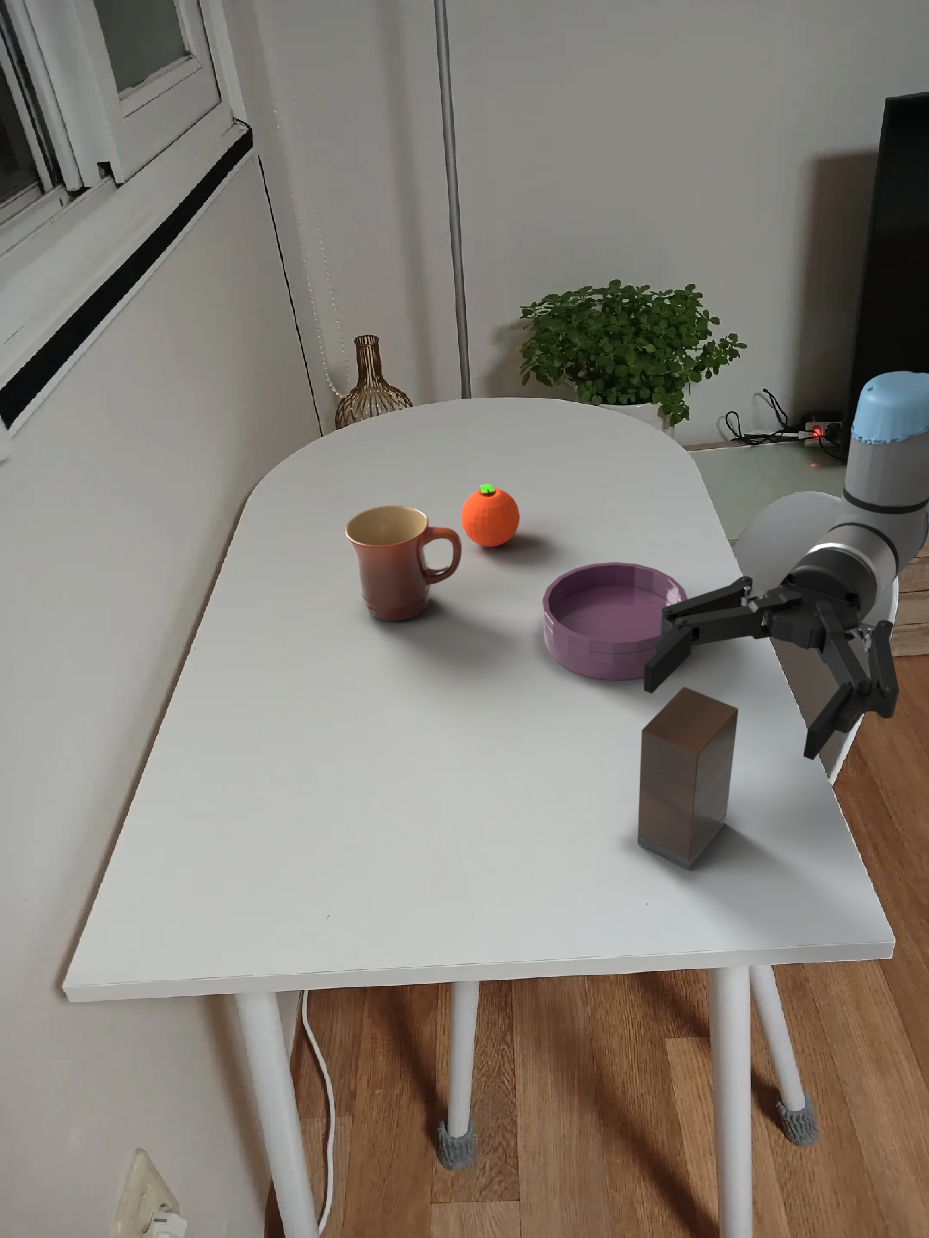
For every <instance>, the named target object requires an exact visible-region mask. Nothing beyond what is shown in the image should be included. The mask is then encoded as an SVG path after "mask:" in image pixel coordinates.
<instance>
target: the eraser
mask: <svg viewBox="0 0 929 1238" xmlns="http://www.w3.org/2000/svg"><path fill="white" fill-rule="evenodd" d="M738 717H739V708H738V707H736V706H733V705H730V704H728V703H726V702H724V701H721V700H718V699H716V698H713V697H711V696H709V695H706V694H704V693H701V692H699V691H697V690H693V689H691V688H689V687H686V686H682V688H681V689H679V691H678V692H677V693H676V694H675V695H674V696H673V697H672V698H671V699H670V700H669V701H668V702H667V703H666V705H664V706H663V708H661V710H660V711H658V713H656V715H655V716H654V717H653V718H652V719H651V720H650V721H649V722H648V723H646V725H645V726H644V727H643V728H642V729H641V743H640V766H639V791H638V817H637V819H638V821H637V845H638V846H640V847H643V848H645V849H646V850H648V851H650V852H652V853H653V854H655V855H658V856H660V857H661V858H663V859H665V860H666V861H669V862H670V863H673V864H674V865H677V866H679V867H680V868H682V869H684V870H686V871H689V870H690V869H691V868H692V867H693V865H694V864H695V863H696V861H697V860H698V859H699V858H700V856H701V855H702V854H703V852H704V851H705V850H706V848H707V847H708V846H709V845H710V844H711V842H712V841H713V839H714V838H716V836H717V834H718V833H719V832H720V831H721V830H722V828H723V827H724V825H725V824H726V823H727V813H728V805H729V796H730V789H731V779H732V769H733V762H734V751H735V743H736V734H737V725H738V719H739V718H738Z"/></svg>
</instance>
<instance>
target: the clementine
mask: <svg viewBox="0 0 929 1238" xmlns="http://www.w3.org/2000/svg"><path fill="white" fill-rule="evenodd" d="M479 487H480V489H478V490H476V491H474V492H473V493H472V494H470V495H469V496H468V498H467V499H466V500H465V501H464V504H463V506H462V509H461V512H460V513H461V515H460V518H461V519H460V520H461V521H460V522H461V525H462V529H463V531H464V533H465V534H466V535H467V537H468V538H469V539H470V540H471V541H472V542H474V543H476V544H478V545H481V546H483V547H492V548H493V547H499V546H500V545H504V543H505V544H506V543H507V542H508V541H509V540H510V539H512V537H513V536H514V535H515V534H516V532H517V530H518V528H519V525H520V518H521V516H520V515H521V514H520V509H519V505H518V504H517V502H516V500H515V499H514V498H513V496H511V494H509V493H508V492H507V491H505V490H503V489H501V488H497V487H494V486H493V485H492V484H490V483H486V484H480V485H479Z"/></svg>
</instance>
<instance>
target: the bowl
mask: <svg viewBox="0 0 929 1238" xmlns="http://www.w3.org/2000/svg"><path fill="white" fill-rule="evenodd" d="M687 599H688V596H687V594H686V590H685V589H684V587H683V586H682V585H681V584H680V583H679V582H678V581H677V580H675V578H673V577H672V576H671V575H668V574H667V573H664V572H663V571H660V570H658V569H656V568H653V567H651V566H647V565H646V566H645V565H642V564H638V563H630V562H619V561H611V562H598V563H597V562H596V563H591V564H587V565H583V566H579V567H575V568H573V569H571V570H569V571H567V572H565V573H563V574H562V575H559V576H558V577H556V578H555V579H554V580H553V581H552V582H551V583H550V584H549V585H548V586H547V587H546V589H545V592H544V595H543V597H542V600H541V603H542V621H543V639H544V640H543V641H544V645H545V648H546V650H547V652H548V654H549V655H550V656H551V657H552V658H553V660H554V661H555V662H557V663H558V664H559V665H560V666H562V667H563V668H565V669H566V670H568V671H571V672H573V673H574V674H577V675H581V676H584V677H587V678H590V679H591V678H592V679H596V680H603V681H627V680H629V681H630V680H636V679H641V678H644V668H645V664H646V663H647V662H648V661H649V660H650V659H651V658H652V657H653V656H654V655H655V648H656V643H657V641H658V640H659V639H661V638H662V637H663V636H662V635H661V634H660V626H661V609H662V608H664V607H666V606H669V605H672V604H675V603H678V602H681V601H684V600H687Z"/></svg>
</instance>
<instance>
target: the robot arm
mask: <svg viewBox="0 0 929 1238" xmlns="http://www.w3.org/2000/svg"><path fill="white" fill-rule="evenodd" d="M858 399H859V400H858V401H857V405H856V410H855V416H854V419H853V422H852V425H851V428H850V432H851V435H850V444H849V451H848V457H847V465H846V472H845V479H844V484H843V488H842V492H841V499H840V504H839V511H838V516H837V519H836V521H835V523H834V524H833V525H832V526H831V527H830V529H829V530H828V531H827V532H825V534H824V535H822V537H821V538H820V539H819V540H818V541H817V542H816V543H815V544H814V545H813V546H812V547H811V548H810V549H809V550H808V551H807V552H806V553H805V554H804V556H803V557H802V558H801V559H800V560H799V561H798V562H797V563H796V564H795V565H794V566H793V567H792V568H790V570H789V571H788V572H787V573H786V575H784V577H783V578H782V580H781V581H780V583H779V584H778V585H777V586H776V587H773V588H771V589H768V590H766V591H765V590H763V589H761V588H758V587H755V586H753V581H754V580H753V578H752V577H751V576H746V575H744V576H740V577H739V578H738V579H736V580H734V581H733V582H732V583H731V584H728V585H725V586H723V587H720V588H717V589H714V590H711V591H709V592H705V593H703V594H700V595H697V596H694V597H691V598H687V600H684V601H681V602H678V603H675V604H672V605H669V606H666V607H664V608H662V609H661V626H660V634H661V635H662V636H663V637H662V638H661V639H659V640H658V641H657V643H656V648H655V655H654V656H653V657H652V658H651V659H650V660H649V661H648V662H647V663H646V664H645V668H644V677H643V691H644V692H646V693H648V694H650V695H651V694H653V693H654V692H655V691H656V690H657V689H659V687H660V686H661V685H662V684H663V683H664V682H665V681H666V680H667V679H668V678H669V677H670V676H671V675H672V674H673V673H674V672H675V671H676V670H677V669H678V668H679V667H680V666H681V665H682V664H683V663H684V662H685V661H686V660H687V658H689V656H690V655H691V654H692V647H694V646H700V645H706V644H711V643H717V642H723V641H729V640H735V639H739V638H740V639H741V638H746V637H752V638H753V639H754V640H760V639H766V638H767V639H768V638H773V639H776V640H778V641H781V642H785V643H792V644H793V645H795V646H797V647H799V648H801V649H804V650H806V651H808V650H809V649H815V650H816V652H817V654H818V656H819V658H820V659H821V661H822V663H823V664H826V665H827V667H828V669H829V671H830V672H831V674H832V676H833V678H834V680H835V682H836V684H837V686H838V689H837V690H836V692H835V693H834V694H833V695H832V697H831V698H830V700H828V702H827V704H826V705H825V706H824V707H823V709H822V710H821V711H820V713H819V714H818V715H817V717H816V718H815V719H814V720H813V721H812V723H811V724H810V726H809V727H808V728H807V731H806V733H807V734H806V738H805V744H804V750H803V757H804V758H806V759H808V760H811V761H814V760H815V759H816V757H817V756H818V755H819V753H820V752H821V750H822V749H823V748H824V747H825V745H826V744H827V742H828V741H829V740H830V739H831V737H832V735H833V734H834V733H835V731H837V732H839V733H843V734H845V735H846V734H848V733H850V732H852V731H853V729H854V727H855V725H856V724H857V723H858V722H859V720H860V719H861V717H862V716H863V715H865V714H867V712H874V713H876V714H877V716H878V717H880V718H882V719H891V718H893V717H894V715H895V710H896V706H897V702H898V698H899V693H900V687H899V682H898V677H897V673H896V667H895V663H894V658H893V654H892V649H891V644H890V643H891V639H892V634H893V629H894V623H893V622H892V621H890V620H887V619H880V620H879V621H877V623H876V625H872V624H869V623H864V622H863V621H864V619H865V618H867V616H868V614H870V612H871V611H872V609H873V608H874V606H876V604H877V603H878V602H879V600H880V599H881V598H882V596H884V594H885V593H886V591H888V589H889V588H890V587H891V585H892V584H893V583H894V581H895V580H896V579H897V577H898V576H899V575H900V574H901V573H902V572H903V570H904V569H905V568H906V567H907V565H909V563H910V562H911V561H912V560H913V559H914V558H915V557H917V556H918V554H919V552H920V551H921V550H923V548H924V547H925V545H926V542H927V540H928V537H929V373H926V372H912V371H908V370H899V371H892V372H885V373H882V374H879V375H877V376H875V377H873V378H871V379H869V381H867V383H865V385H864V386H863V388H862V390H861V392H860V395H859V398H858ZM763 621H764V622H765V624H763ZM855 638H857V639H859V640H860V641H861V645H862V646H863V651H864V652H865V653H867V654H868V655H867V656H868V657H867V662H868V670H869V675H870V676H869V677H868V676H867V674H866V672H865V671H864V669H863V667H862V665H861V663H860V661H859V660H858V658H857V656H856V655H855V653H854V651H853V649H852V648H851V646H850V643H848V642H850V641H853V640H854V639H855Z"/></svg>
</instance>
